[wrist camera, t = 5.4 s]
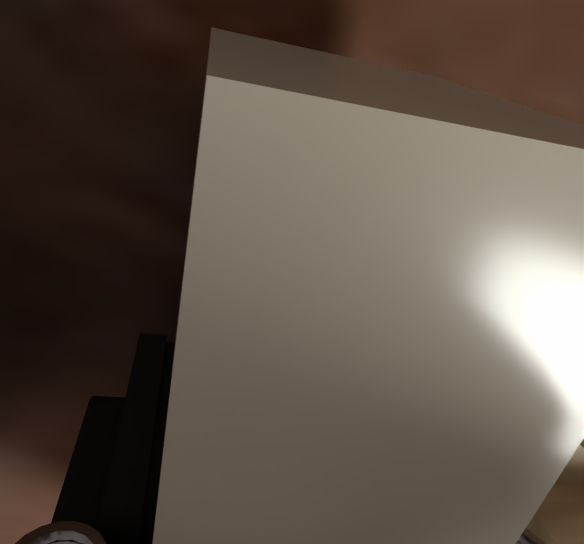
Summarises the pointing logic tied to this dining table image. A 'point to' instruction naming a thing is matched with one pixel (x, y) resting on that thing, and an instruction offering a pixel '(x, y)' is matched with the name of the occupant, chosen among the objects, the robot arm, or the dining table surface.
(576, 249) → the clay bar
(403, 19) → the dining table surface
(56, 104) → the dining table surface
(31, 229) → the dining table surface
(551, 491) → the rack
